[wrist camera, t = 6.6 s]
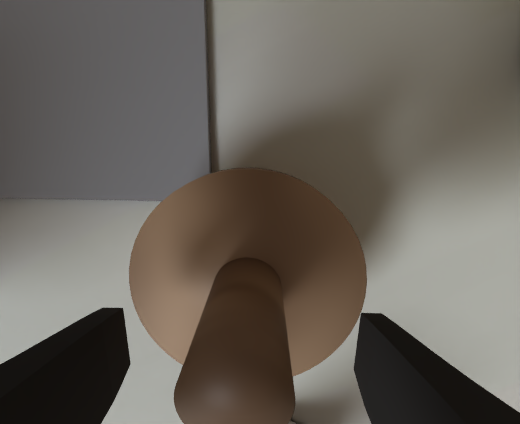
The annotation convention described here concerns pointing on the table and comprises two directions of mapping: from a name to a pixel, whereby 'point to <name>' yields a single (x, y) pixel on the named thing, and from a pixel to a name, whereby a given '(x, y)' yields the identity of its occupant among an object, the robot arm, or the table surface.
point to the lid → (246, 290)
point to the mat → (103, 98)
